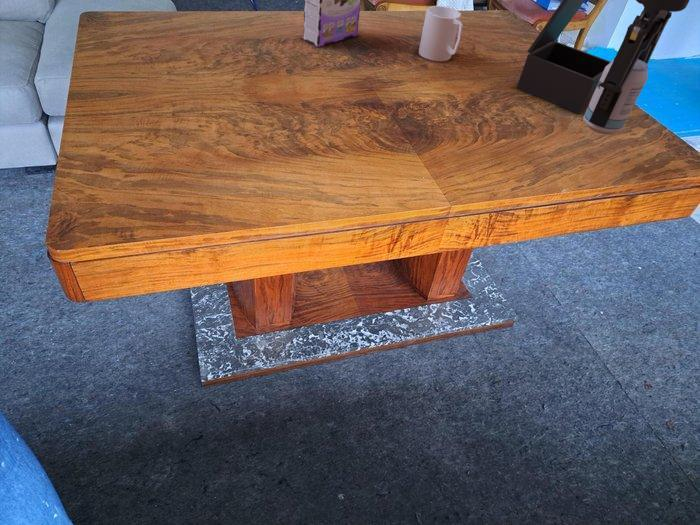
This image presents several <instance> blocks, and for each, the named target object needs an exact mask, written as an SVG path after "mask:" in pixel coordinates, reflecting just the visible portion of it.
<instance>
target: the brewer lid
mask: <svg viewBox="0 0 700 525" xmlns="http://www.w3.org/2000/svg"><path fill="white" fill-rule="evenodd" d="M585 2H586V0H562V1H560V3H559V5H558V6H557V8H556V9H555V10H554V12H553V14H552V15H551V17H550V18H549V19H548V21H547V22H546V23H545V25H544V27H543V28H542V30H541V31H540V32H539V34H538V35H537V37H535V39H534V41H533V42H532V43H531V45H530V47H529V48H528V50H527V53H529V54H530V53H532V52H534V51H536V50H538V49H540V48H542V47H544V46H546V45H548V44H549V43H551V42H553V41H557V40H558V39H559V38H560V36H561V35H562V33H563V32H564V31H565V29H566V28H567V27H568V25H569V24H570V22H571V21H572V19H574V17H575V15H576V14H577V13H578V11H579V10H580V9H581V7H582V6H583V4H585Z"/></svg>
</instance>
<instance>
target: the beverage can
mask: <svg viewBox="0 0 700 525" xmlns="http://www.w3.org/2000/svg"><path fill="white" fill-rule="evenodd" d="M614 59H615V57H614V58H613V59H612V60H611V62H610V63H609V64H608V65H607V66H606V67H605V69H604V71H603V74H602V76H601V78H600V80H599V83H598V85H597V87H596V89H595V92H594V94H593V96H592V99H591V101H590V103H589V105H588V108H587V109H586V110H585V112H584V115H583V117H582V119H583V122H584V123H585V124H586V126H587V128H588V129H589V130H591V131H592V132H594V133H597V134H601V135H611V134H614V133H618V132H621V131H622V130H623V128H624V126H625V124H626V122H627V120H628V119H629V117H630V114H631V112H632V111H633V109H634V107H635V105H636V102H637V101H638V99H639V96H640V94H641V93H642V90H643V88H644V87H645V85H646V83H647V81H648V76H649V75H648V69H649V65H648V64H646V63H645V62H643V61H641V60H639V59H638V60H637V61H636V63H635V65H634V67H633V69H632V70H631V72H630V74H629V76H628V78H627V79H626V81H625V83H624V85H623V87H622V89H621V91H622V92H621V95H620V97H619V99H618V101H617V103H616V105H615V107H614V109H613V111H612V113H611V115H610V117H609V120H608V122H607V124H606V126H605V127H604V128H603V127H600V126H598V125H595V124H593V123H590V122H589V121H590V118H591V116H592V114H593V112H594V109H595V107H596V105H597V103H598V101H599V98H600V96H601V94H602V92H603V89H604V88H603V87H601V86H600V83H601V82H602V83H603V82H604V80H605V78H606V76H607V74H608V72H609V69H610V67H611V65H612V63H613V61H614Z"/></svg>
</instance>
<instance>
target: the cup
mask: <svg viewBox="0 0 700 525" xmlns="http://www.w3.org/2000/svg"><path fill="white" fill-rule="evenodd" d="M461 16H462V14H461V12H460V11H458V10H457V9H455V8H453V7H449V6H443V5H431V6H428V7H427V8H426V11H425V16H424V21H423V27H422V32H421V37H420V43H419V47H418V54H419V56H421V57H422V58H424V59H425V60H428V61H429V60H430V61H434V62H446V61H450V59H451V58H452V56H454V55H455V54H457V53H458V49H459V47H460V44H461V42H462V36H463V28H464V25H463V22H461V21H460V20H461ZM456 37H457V39H456ZM455 42H456V43H455Z"/></svg>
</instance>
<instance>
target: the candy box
mask: <svg viewBox="0 0 700 525" xmlns="http://www.w3.org/2000/svg"><path fill="white" fill-rule="evenodd" d="M361 1H362V0H304V7H303V9H304V10H303V32H302V33H303V37H302V39H303V40H305V41H306V42H308V43H310V44H311V45H313V46H315V47H317V48H319V47H323V46H325V45H330V44H333V43H336V42H339V41H343V40H346V39H349V38H353V37H356V36H358V34H359V22H360V12H361Z"/></svg>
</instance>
